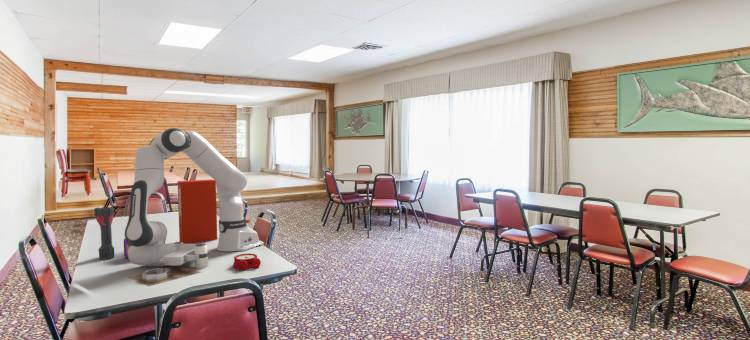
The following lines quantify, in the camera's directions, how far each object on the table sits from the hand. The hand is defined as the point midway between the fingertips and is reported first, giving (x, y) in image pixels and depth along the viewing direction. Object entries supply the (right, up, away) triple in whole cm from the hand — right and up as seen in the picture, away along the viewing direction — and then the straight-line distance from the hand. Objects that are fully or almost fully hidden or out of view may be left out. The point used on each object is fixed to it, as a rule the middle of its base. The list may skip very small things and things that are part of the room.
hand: (203, 254), depth 171 cm
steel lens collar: (-12, -6, -14) cm, 19 cm away
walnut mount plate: (-10, -7, -10) cm, 16 cm away
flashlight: (-52, -5, +19) cm, 56 cm away
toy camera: (-35, -5, +19) cm, 41 cm away
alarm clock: (+17, -6, +4) cm, 18 cm away
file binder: (-23, -3, +51) cm, 57 cm away
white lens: (-1, -6, 0) cm, 6 cm away
